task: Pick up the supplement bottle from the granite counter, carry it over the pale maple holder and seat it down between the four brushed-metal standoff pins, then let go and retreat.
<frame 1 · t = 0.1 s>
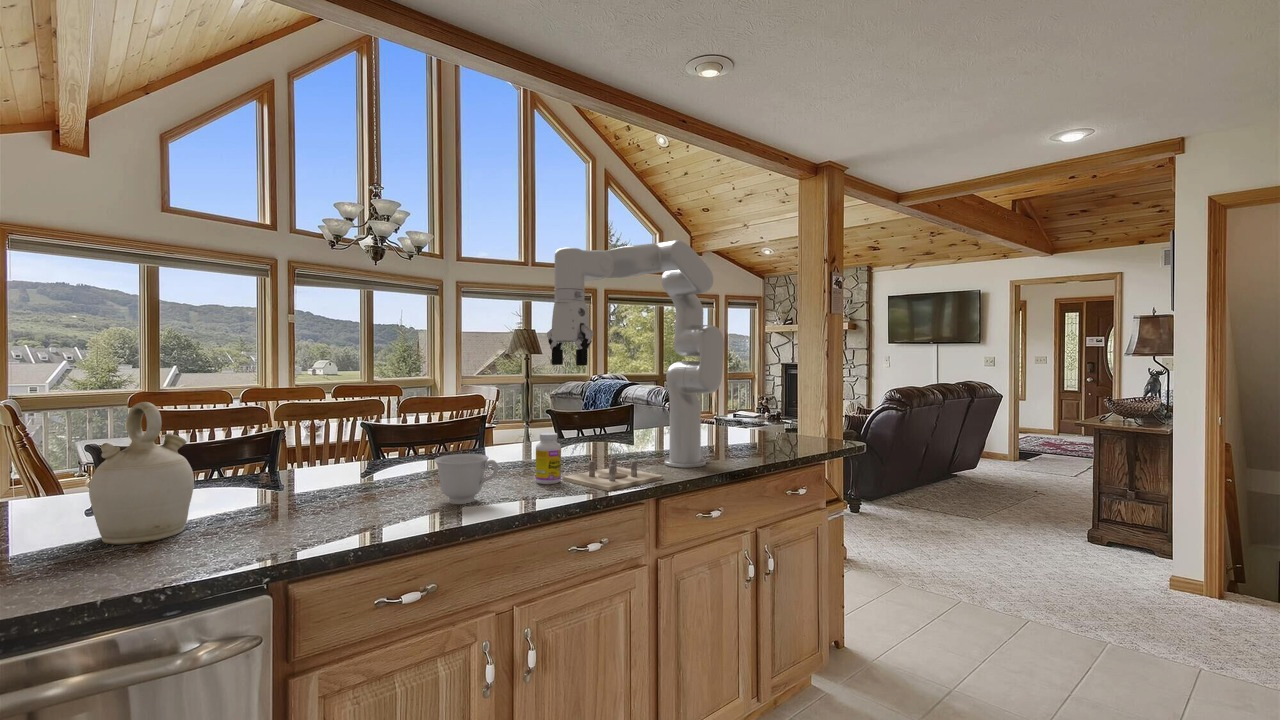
hand: (569, 365, 156), 31 cm above the kitchen island, tool pointing down, fingers open, 9 cm apart
teacup: (467, 502, 142), on the kitchen island
supplement bottle: (548, 482, 163), on the kitchen island
holder: (612, 479, 166), on the kitchen island
jug: (144, 536, 116), on the kitchen island
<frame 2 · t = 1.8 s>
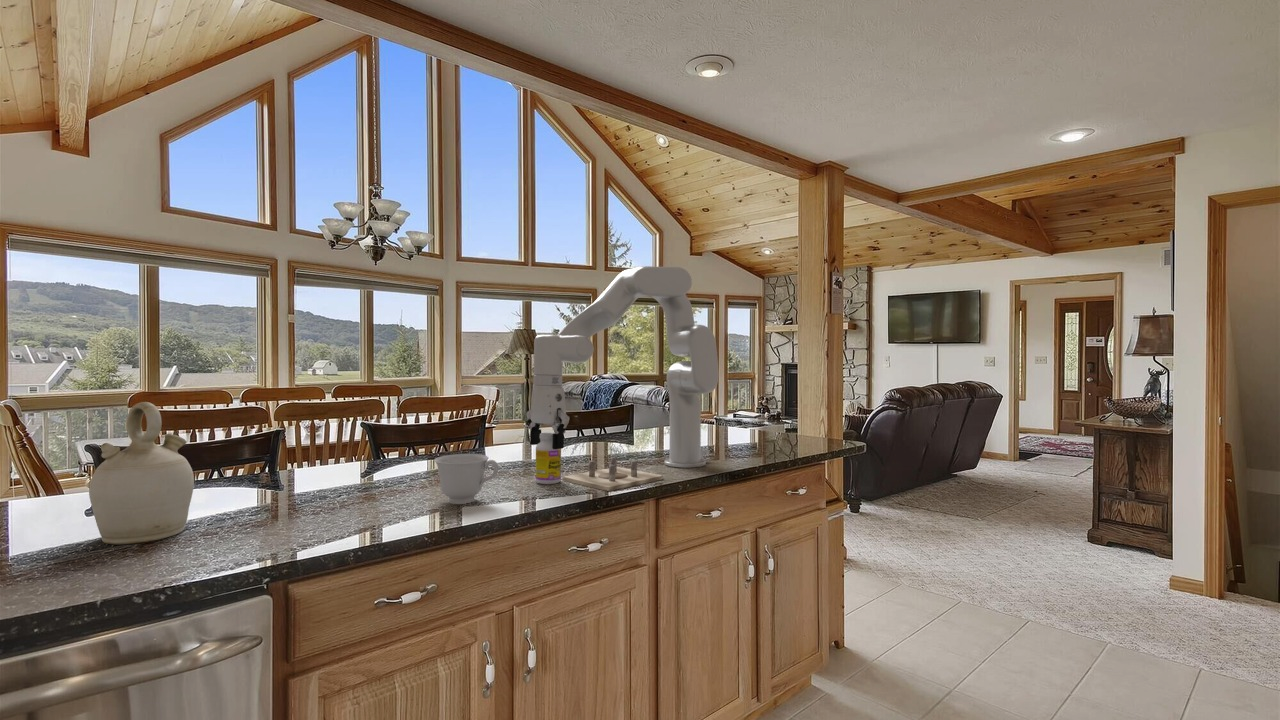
hand: (546, 446, 163), 9 cm above the kitchen island, tool pointing down, fingers open, 9 cm apart
nothing on the kitchen island moved.
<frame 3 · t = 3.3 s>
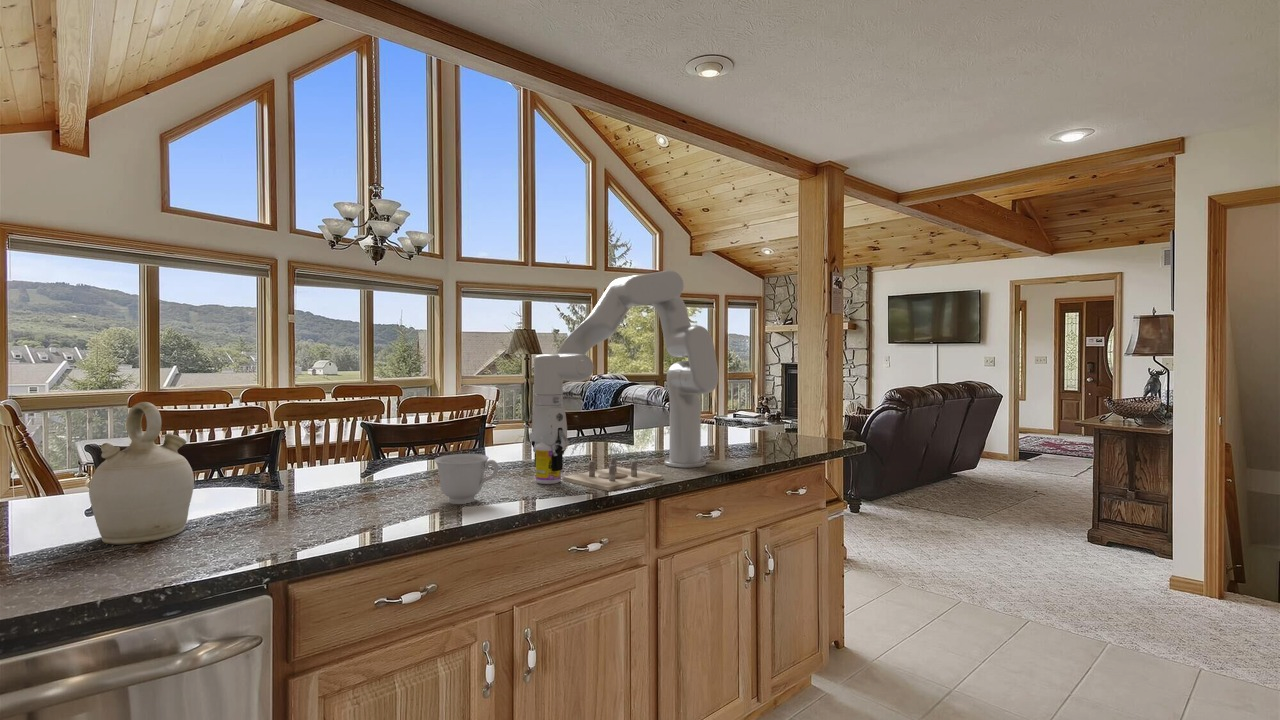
hand: (548, 468, 163), 4 cm above the kitchen island, tool pointing down, fingers closed on supplement bottle, 6 cm apart
supplement bottle: (548, 482, 163), on the kitchen island, touching gripper
everything else where it was.
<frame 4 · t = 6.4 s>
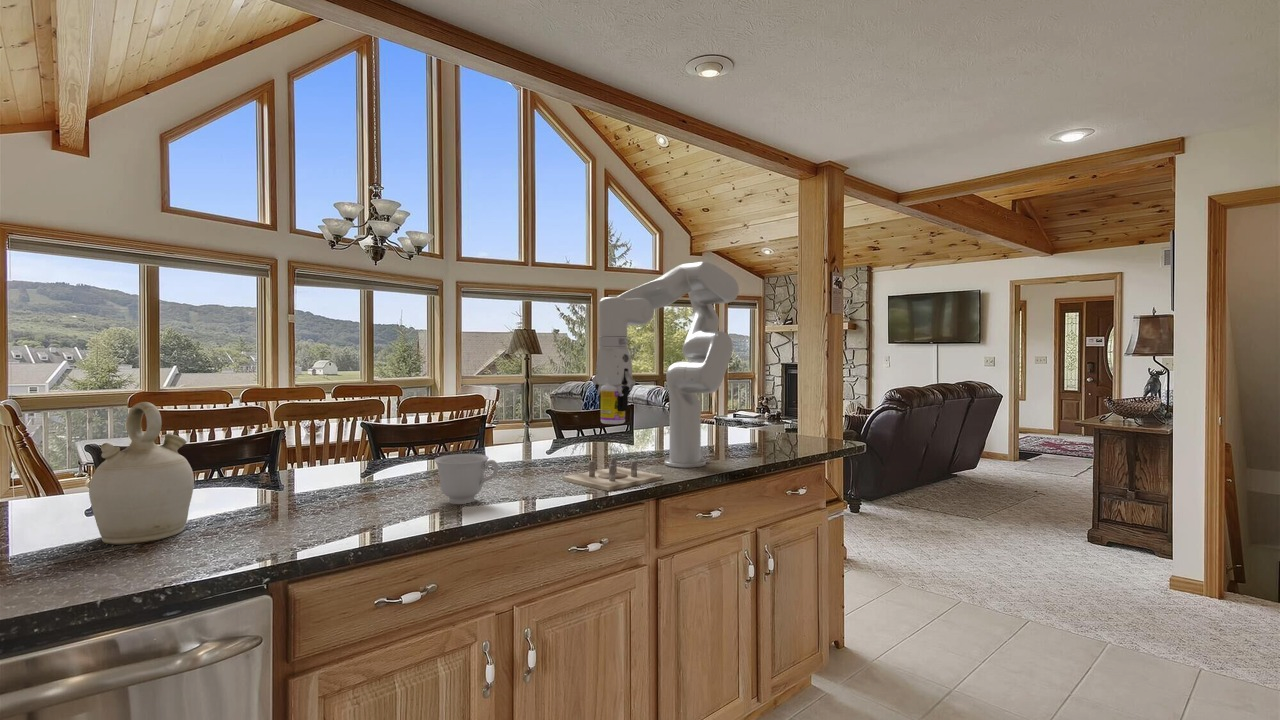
hand: (613, 409, 166), 19 cm above the kitchen island, tool pointing down, fingers closed on supplement bottle, 6 cm apart
supplement bottle: (613, 423, 166), point 15 cm above the kitchen island, touching gripper
everything else where it was.
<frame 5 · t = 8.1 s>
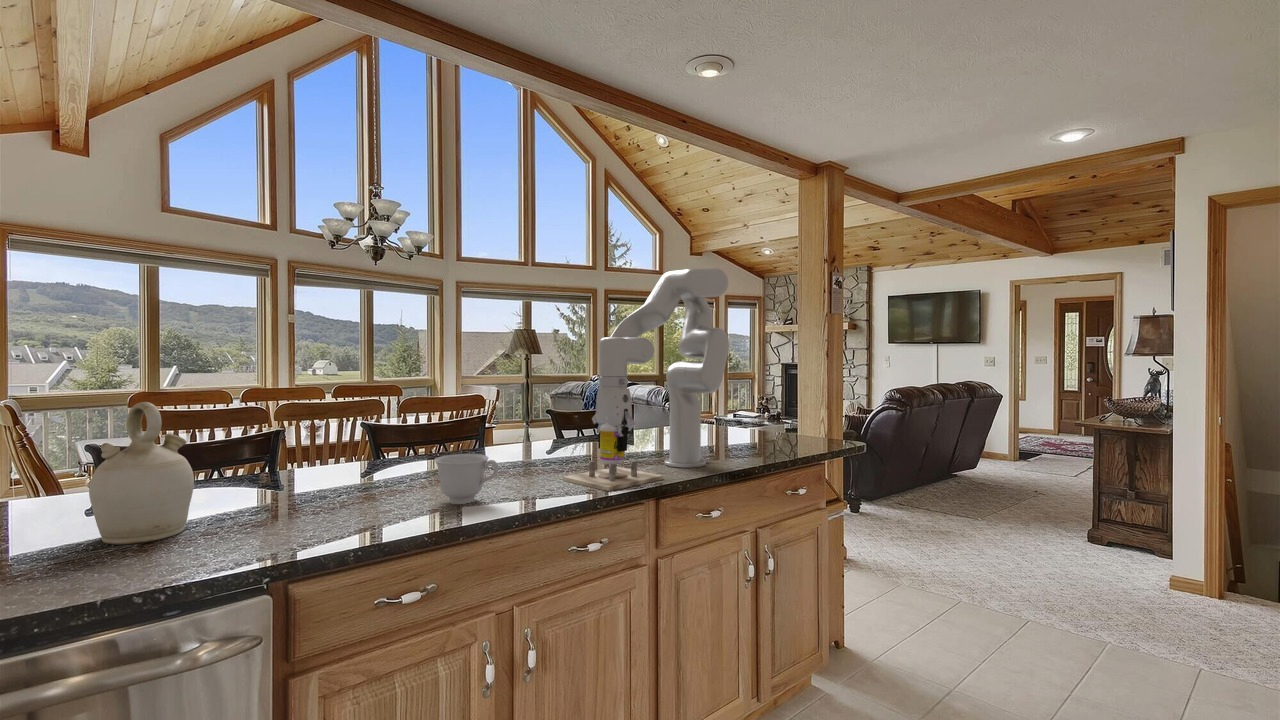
hand: (612, 448, 166), 8 cm above the kitchen island, tool pointing down, fingers closed on supplement bottle, 6 cm apart
supplement bottle: (612, 463, 166), point 4 cm above the kitchen island, touching gripper
everything else where it was.
when the fingers open (6 cm above the kitchen island, at t = 9.6 s): supplement bottle drops 1 cm, resting on holder.
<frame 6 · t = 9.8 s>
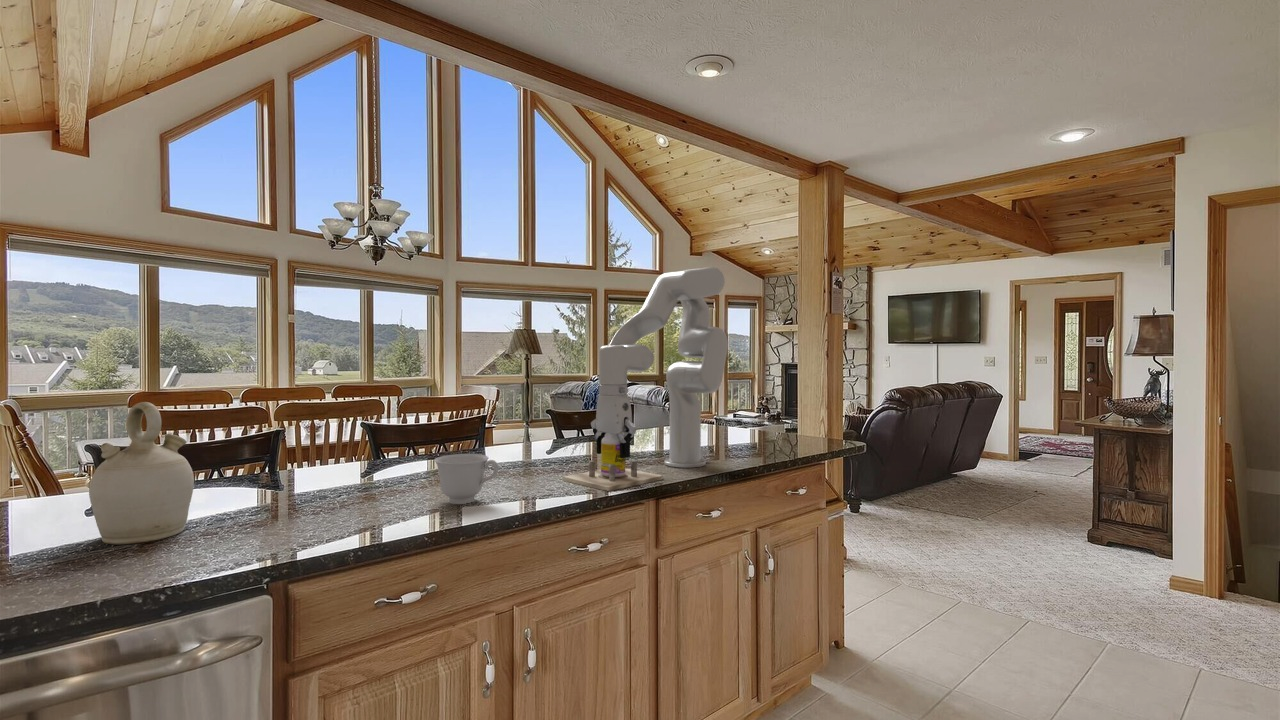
hand: (613, 455, 166), 7 cm above the kitchen island, tool pointing down, fingers open, 8 cm apart
supplement bottle: (613, 476, 166), point 1 cm above the kitchen island, touching holder
everything else where it was.
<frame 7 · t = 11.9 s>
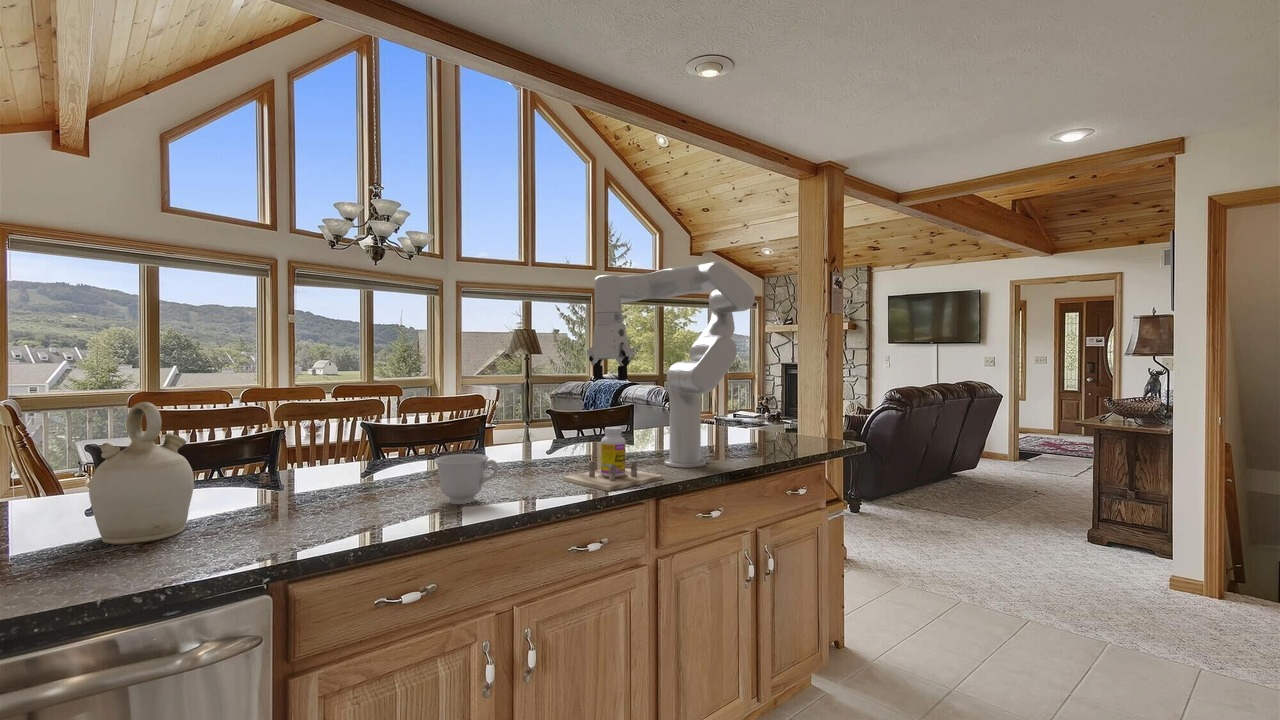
hand: (610, 379, 175), 27 cm above the kitchen island, tool pointing down, fingers open, 9 cm apart
nothing on the kitchen island moved.
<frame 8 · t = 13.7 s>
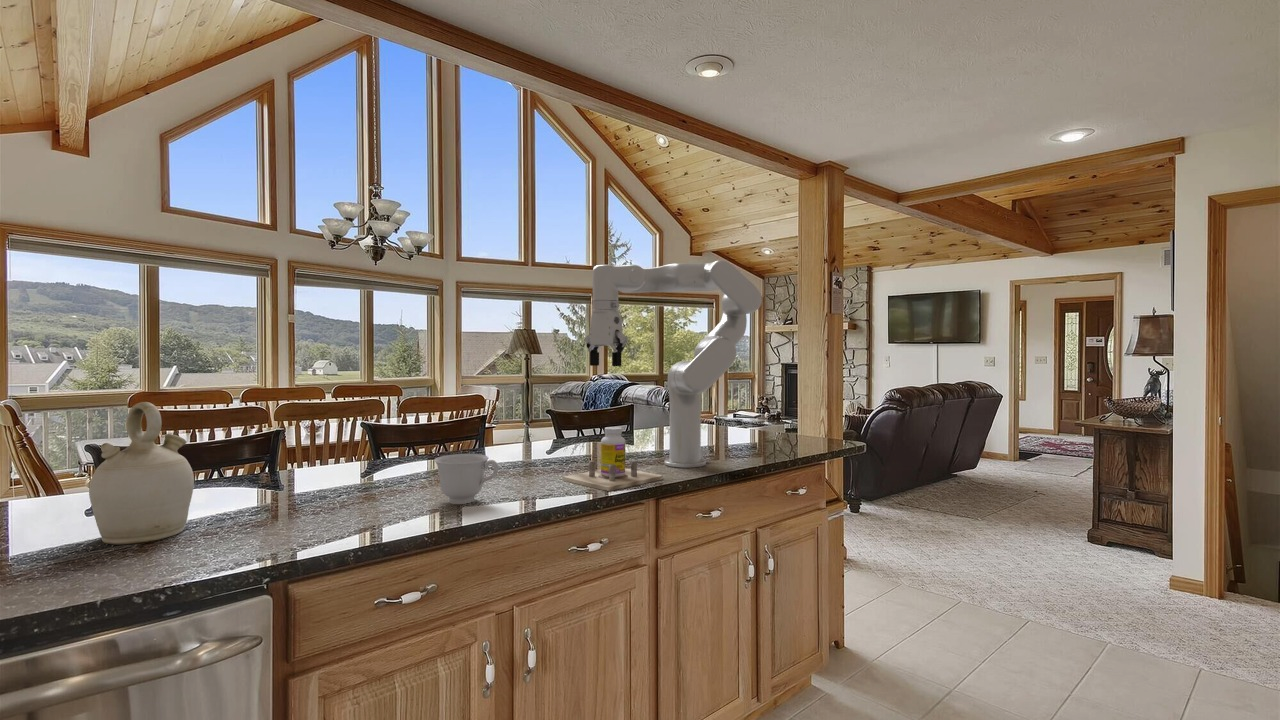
hand: (605, 365, 181), 30 cm above the kitchen island, tool pointing down, fingers open, 9 cm apart
nothing on the kitchen island moved.
at the end: supplement bottle 0.3 cm off-centre on the holder, point 0.9 cm above the holder's base; supplement bottle tilted 0°; the gripper is holding nothing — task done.
